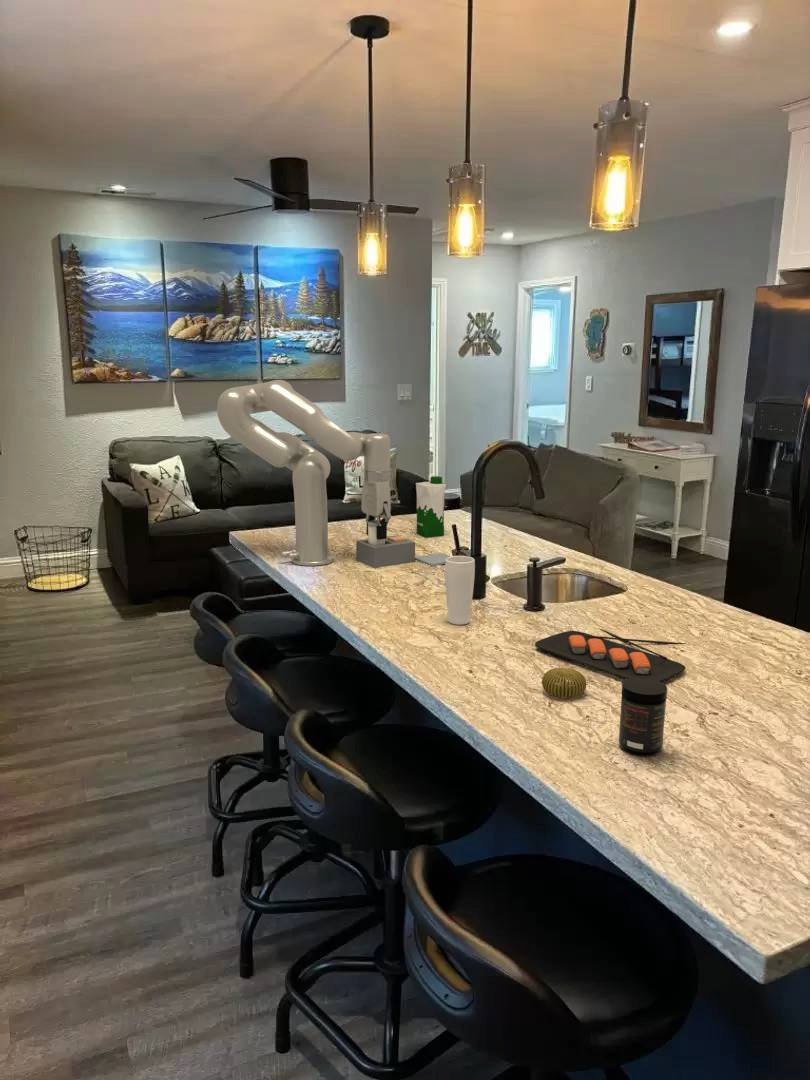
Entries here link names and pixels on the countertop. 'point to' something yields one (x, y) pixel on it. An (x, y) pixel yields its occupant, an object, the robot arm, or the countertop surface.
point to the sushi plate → (612, 655)
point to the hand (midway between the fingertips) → (376, 536)
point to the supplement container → (642, 716)
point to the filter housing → (385, 553)
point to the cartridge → (373, 534)
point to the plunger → (396, 539)
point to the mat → (433, 559)
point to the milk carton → (430, 507)
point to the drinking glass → (459, 588)
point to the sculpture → (564, 683)
